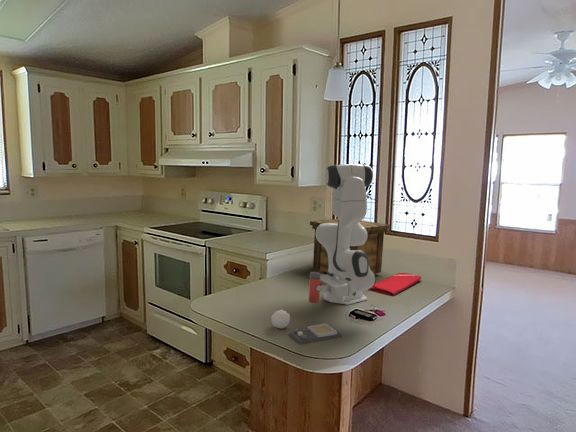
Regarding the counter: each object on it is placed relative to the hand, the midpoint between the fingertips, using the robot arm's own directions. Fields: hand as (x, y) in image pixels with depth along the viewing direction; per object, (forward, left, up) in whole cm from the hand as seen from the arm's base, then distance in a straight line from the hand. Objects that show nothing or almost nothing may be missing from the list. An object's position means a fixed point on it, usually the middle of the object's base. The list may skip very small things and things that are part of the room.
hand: (312, 286), depth 170 cm
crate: (-65, -67, -18) cm, 95 cm away
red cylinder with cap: (-1, 0, -7) cm, 7 cm away
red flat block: (-79, -37, -19) cm, 89 cm away
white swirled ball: (+12, -5, -18) cm, 22 cm away
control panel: (+2, +7, -18) cm, 20 cm away
